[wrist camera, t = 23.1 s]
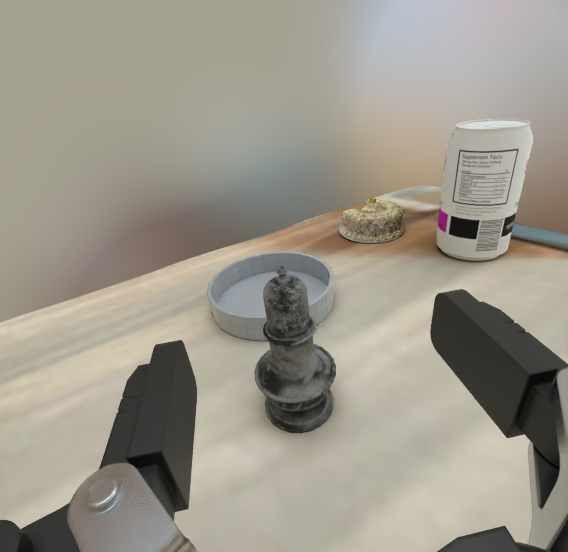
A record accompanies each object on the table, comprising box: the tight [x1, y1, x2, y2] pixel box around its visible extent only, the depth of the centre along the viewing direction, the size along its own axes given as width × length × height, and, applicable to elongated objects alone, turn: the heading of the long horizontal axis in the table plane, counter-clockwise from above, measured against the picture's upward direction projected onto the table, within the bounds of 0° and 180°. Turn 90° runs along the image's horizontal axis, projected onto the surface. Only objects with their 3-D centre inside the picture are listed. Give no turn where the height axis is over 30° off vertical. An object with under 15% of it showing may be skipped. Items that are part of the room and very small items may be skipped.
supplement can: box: [436, 119, 533, 261], centre depth 41 cm, size 8×8×15 cm
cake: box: [339, 198, 405, 243], centre depth 52 cm, size 10×10×5 cm
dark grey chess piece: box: [255, 266, 336, 433], centre depth 24 cm, size 6×6×12 cm
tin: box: [207, 252, 335, 341], centre depth 38 cm, size 14×14×3 cm
